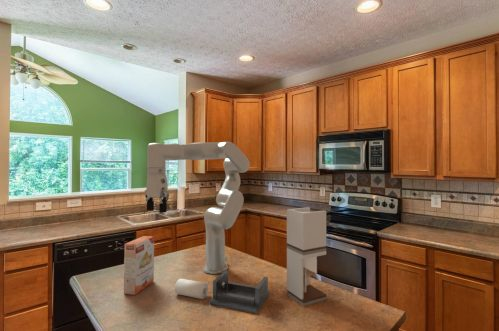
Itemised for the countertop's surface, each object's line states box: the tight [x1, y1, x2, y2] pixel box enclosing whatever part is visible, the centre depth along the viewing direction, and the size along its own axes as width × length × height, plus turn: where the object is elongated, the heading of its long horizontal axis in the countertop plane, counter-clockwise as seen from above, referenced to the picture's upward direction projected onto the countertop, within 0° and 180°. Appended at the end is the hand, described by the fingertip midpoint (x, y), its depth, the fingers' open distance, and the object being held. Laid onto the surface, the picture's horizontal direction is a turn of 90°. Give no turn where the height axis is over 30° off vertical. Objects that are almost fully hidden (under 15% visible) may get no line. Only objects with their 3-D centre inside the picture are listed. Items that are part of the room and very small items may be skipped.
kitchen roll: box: [174, 278, 209, 300], centre depth 111 cm, size 6×12×6 cm, turn 69°
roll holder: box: [209, 270, 271, 315], centre depth 108 cm, size 16×19×8 cm
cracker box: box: [123, 235, 155, 296], centre depth 119 cm, size 14×6×21 cm, turn 168°
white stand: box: [286, 206, 327, 307], centre depth 110 cm, size 11×11×35 cm
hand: (156, 211), depth 119 cm, fingers open, 9 cm apart
